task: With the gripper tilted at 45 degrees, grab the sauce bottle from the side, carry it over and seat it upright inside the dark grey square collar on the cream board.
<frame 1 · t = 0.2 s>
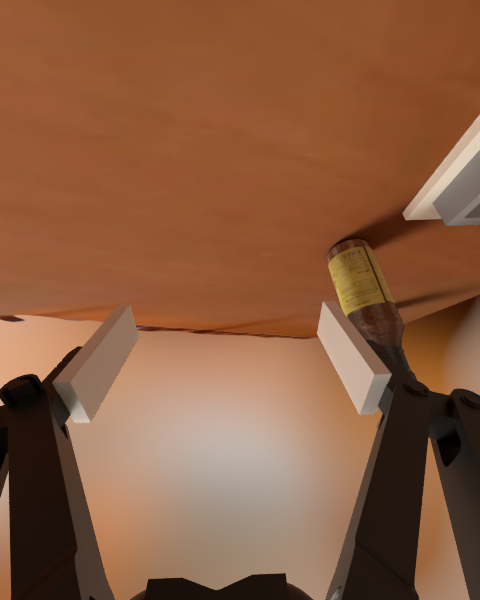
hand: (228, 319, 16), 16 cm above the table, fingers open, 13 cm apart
sauce bottle: (347, 249, 36), on the table
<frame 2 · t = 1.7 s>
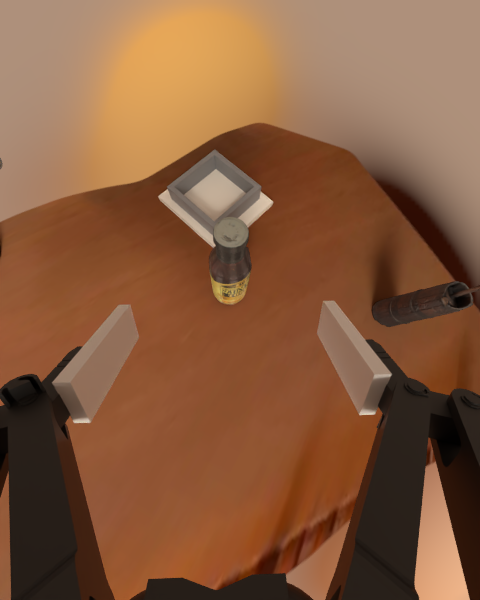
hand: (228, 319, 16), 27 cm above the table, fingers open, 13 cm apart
sauce bottle: (230, 290, 45), on the table
butter churn: (380, 316, 44), on the table
bottle stand: (216, 202, 50), on the table
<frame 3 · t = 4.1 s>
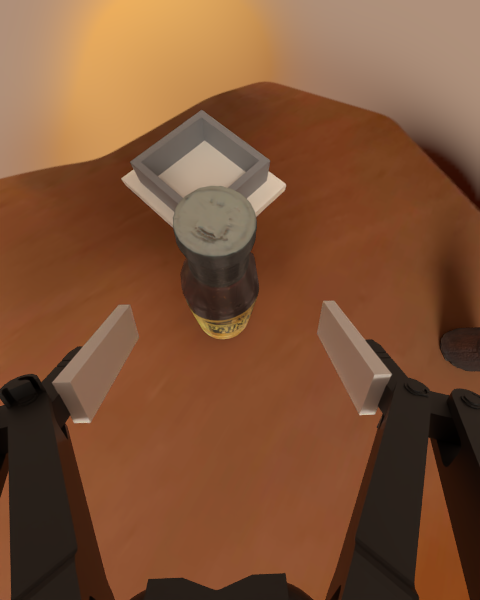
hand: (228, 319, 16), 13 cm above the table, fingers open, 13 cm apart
sauce bottle: (225, 315, 30), on the table
butter churn: (452, 354, 29), on the table
bottle stand: (205, 187, 35), on the table
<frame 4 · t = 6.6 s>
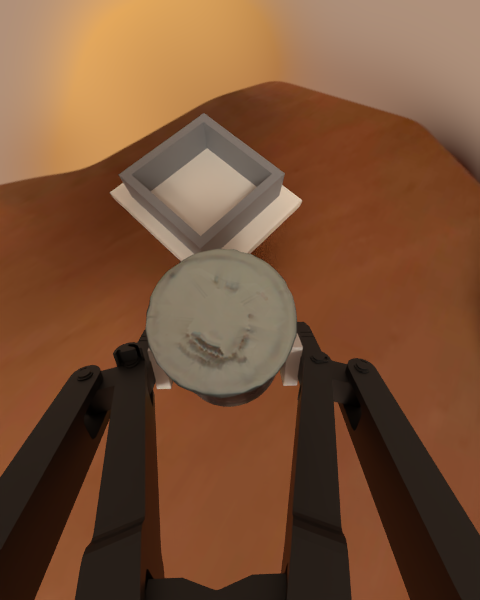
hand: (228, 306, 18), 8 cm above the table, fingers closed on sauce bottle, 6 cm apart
sauce bottle: (231, 359, 25), on the table, touching gripper
bottle stand: (207, 202, 30), on the table
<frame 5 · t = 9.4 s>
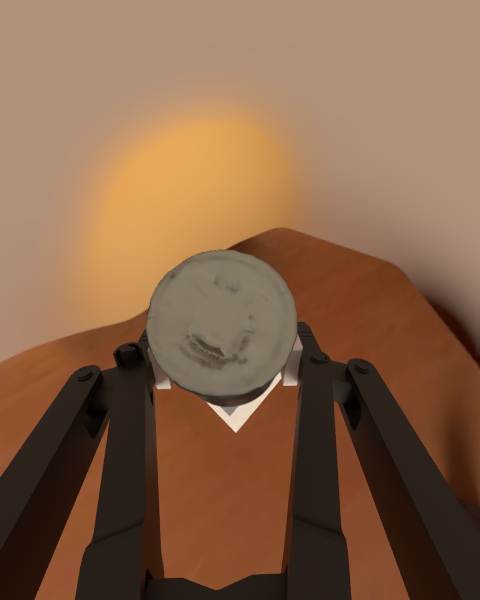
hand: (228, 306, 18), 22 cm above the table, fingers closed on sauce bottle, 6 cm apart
sauce bottle: (231, 359, 25), point 13 cm above the table, touching gripper
butter churn: (459, 529, 32), on the table
bottle stand: (229, 349, 39), on the table
when the fingers open (11 cm above the table, at t = 12.5 s): sauce bottle drops 1 cm, resting on bottle stand.
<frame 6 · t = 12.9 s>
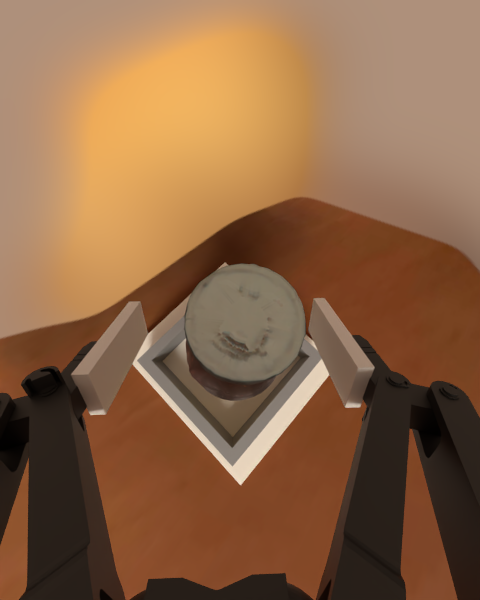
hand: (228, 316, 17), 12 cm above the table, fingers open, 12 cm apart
sauce bottle: (231, 360, 26), point 1 cm above the table, touching bottle stand
bottle stand: (231, 359, 27), on the table
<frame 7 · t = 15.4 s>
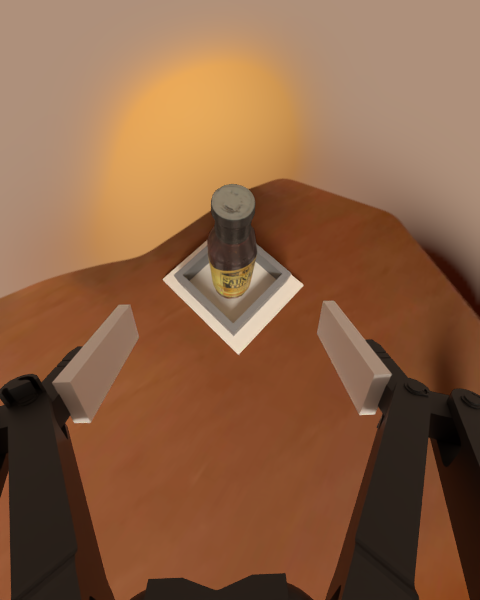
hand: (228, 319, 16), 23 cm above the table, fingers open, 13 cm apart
sauce bottle: (232, 282, 40), point 1 cm above the table, touching bottle stand
bottle stand: (233, 284, 41), on the table
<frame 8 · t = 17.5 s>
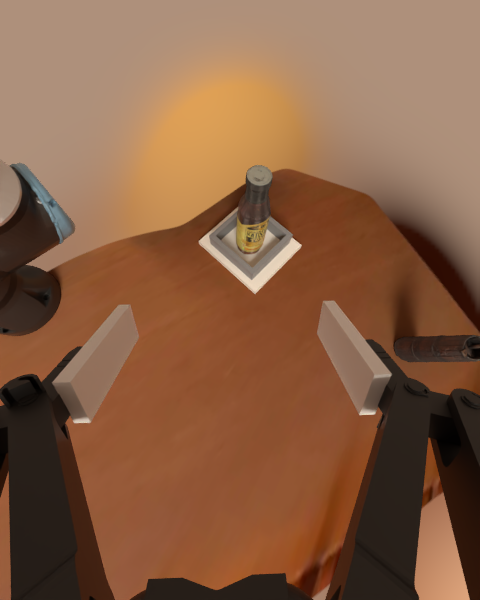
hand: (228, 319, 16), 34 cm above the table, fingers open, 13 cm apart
sauce bottle: (249, 244, 55), point 1 cm above the table, touching bottle stand
butter churn: (401, 352, 49), on the table
bottle stand: (249, 245, 56), on the table
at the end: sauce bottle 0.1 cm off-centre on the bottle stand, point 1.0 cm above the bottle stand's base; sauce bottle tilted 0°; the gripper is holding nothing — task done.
